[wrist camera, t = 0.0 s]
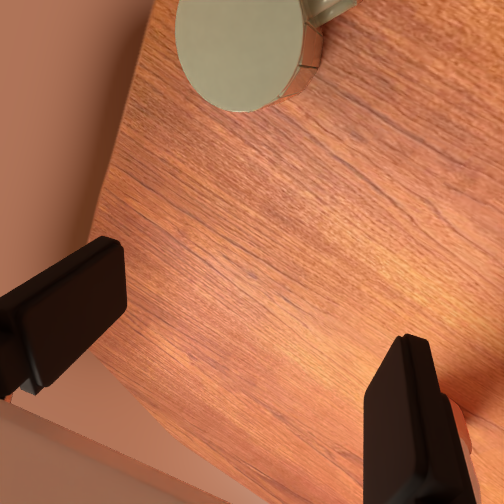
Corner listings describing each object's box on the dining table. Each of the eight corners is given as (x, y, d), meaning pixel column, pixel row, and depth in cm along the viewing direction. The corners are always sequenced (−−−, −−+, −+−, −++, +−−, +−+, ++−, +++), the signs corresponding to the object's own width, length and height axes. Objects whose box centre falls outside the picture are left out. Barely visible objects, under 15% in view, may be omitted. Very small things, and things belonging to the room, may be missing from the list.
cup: (213, 23, 23) (151, 2, 16) (349, -69, 19) (340, -149, 12) (251, 117, 25) (210, 132, 19) (380, 53, 21) (388, 43, 14)
